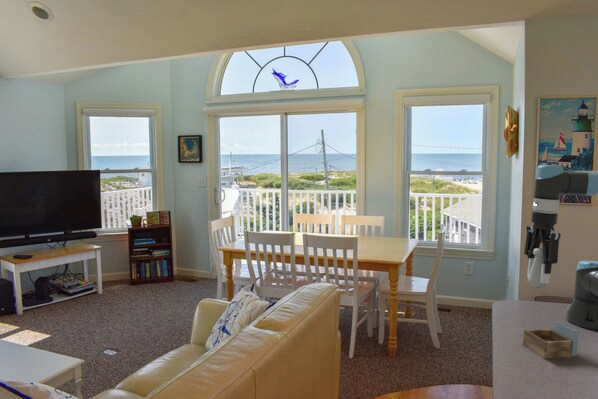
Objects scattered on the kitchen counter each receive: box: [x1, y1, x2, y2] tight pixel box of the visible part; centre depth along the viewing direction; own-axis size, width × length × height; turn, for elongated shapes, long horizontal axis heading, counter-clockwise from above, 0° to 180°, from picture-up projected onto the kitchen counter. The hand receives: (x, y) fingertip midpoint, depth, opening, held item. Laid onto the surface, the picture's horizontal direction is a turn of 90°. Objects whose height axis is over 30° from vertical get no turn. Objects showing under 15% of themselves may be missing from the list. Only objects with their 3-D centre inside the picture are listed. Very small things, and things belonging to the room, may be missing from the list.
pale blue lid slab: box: [552, 320, 580, 357], centre depth 142 cm, size 2×8×8 cm, turn 10°
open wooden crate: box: [522, 328, 573, 359], centre depth 142 cm, size 10×10×5 cm
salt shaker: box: [527, 247, 548, 289], centre depth 153 cm, size 6×6×13 cm
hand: (537, 279), depth 153 cm, fingers closed on salt shaker, 6 cm apart
